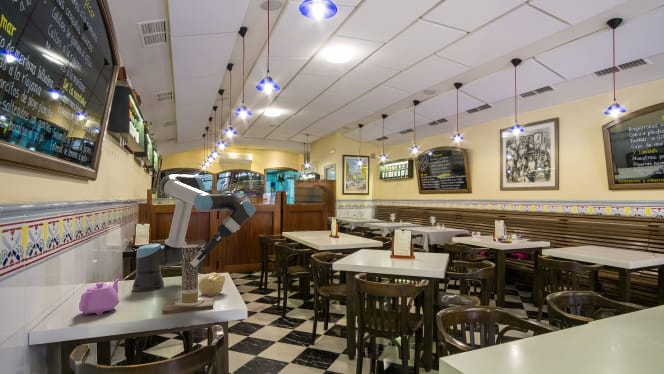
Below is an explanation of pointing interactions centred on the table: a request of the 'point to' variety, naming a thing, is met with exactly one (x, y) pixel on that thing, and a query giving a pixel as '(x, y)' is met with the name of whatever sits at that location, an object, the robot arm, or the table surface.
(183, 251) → the paper tube
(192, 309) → the walnut board
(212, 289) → the sculpture
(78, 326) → the table surface
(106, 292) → the teapot
